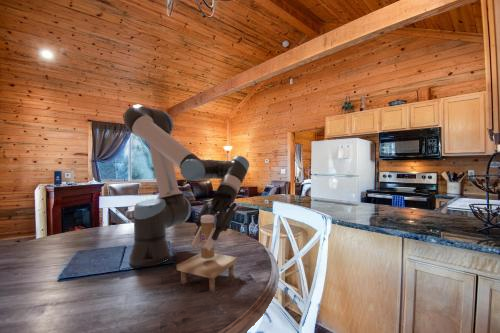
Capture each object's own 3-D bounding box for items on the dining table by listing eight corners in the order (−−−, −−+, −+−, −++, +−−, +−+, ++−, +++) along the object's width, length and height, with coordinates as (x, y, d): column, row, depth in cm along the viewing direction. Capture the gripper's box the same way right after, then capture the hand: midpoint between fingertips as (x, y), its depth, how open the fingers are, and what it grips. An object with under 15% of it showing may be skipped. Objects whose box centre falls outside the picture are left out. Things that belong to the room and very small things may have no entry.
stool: (176, 283, 79) (176, 265, 79) (203, 267, 91) (203, 251, 91) (213, 294, 73) (213, 273, 73) (237, 275, 85) (237, 257, 85)
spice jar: (198, 258, 81) (197, 216, 81) (205, 253, 85) (205, 214, 85) (210, 260, 79) (210, 217, 79) (217, 255, 83) (217, 215, 83)
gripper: (252, 197, 92) (228, 257, 77) (212, 195, 100) (184, 249, 85) (245, 184, 87) (218, 245, 72) (204, 182, 95) (173, 237, 80)
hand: (200, 247), depth 79 cm, fingers closed on spice jar, 4 cm apart
